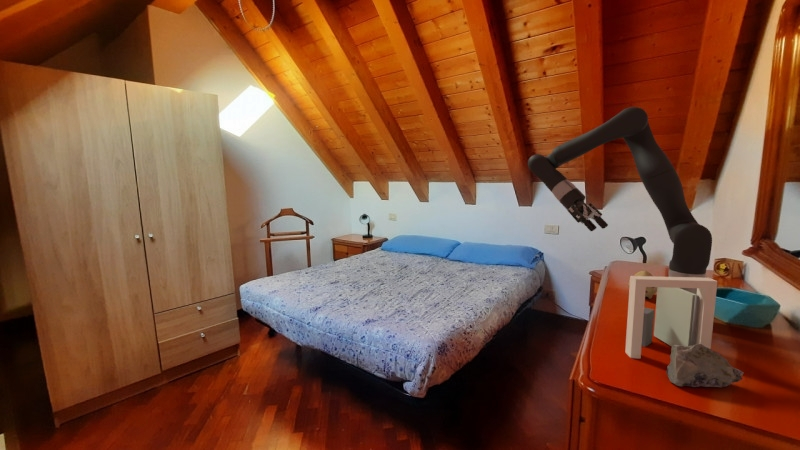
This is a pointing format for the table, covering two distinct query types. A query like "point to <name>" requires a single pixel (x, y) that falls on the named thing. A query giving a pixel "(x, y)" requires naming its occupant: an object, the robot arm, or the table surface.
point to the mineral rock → (700, 367)
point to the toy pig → (649, 290)
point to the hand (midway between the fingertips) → (600, 228)
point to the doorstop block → (647, 326)
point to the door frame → (639, 284)
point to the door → (676, 316)
